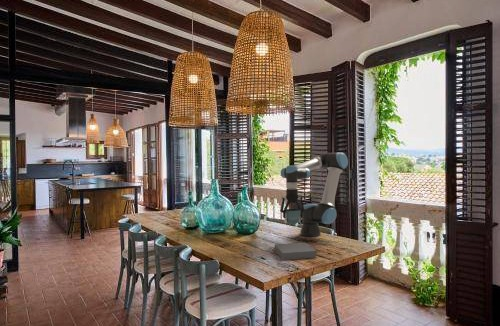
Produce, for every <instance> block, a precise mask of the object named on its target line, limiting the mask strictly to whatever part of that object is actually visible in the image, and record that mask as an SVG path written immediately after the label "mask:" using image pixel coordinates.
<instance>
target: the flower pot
mask: <svg viewBox="0 0 500 326" xmlns="http://www.w3.org/2000/svg"><path fill="white" fill-rule="evenodd" d="M300 212H301V210H298V208H287V210H286V212H285V213H287V223H288V224H290V225H292V224H293V225H294V224H298V223H299V222H298V221H299V219H300V220H301V217H300Z"/></svg>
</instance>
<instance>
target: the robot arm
mask: <svg viewBox="0 0 500 326" xmlns="http://www.w3.org/2000/svg"><path fill="white" fill-rule="evenodd" d="M348 165H349V160H348V157H347V155H346V154H345V153H344V152H324V153H322V154H319V155H316V156H313V157H312V159H309V160H306V161H304V162H301V163H298V164H295V165H287V166H286V167H282V169H281V170H280V176H281V178H282V179H285V185H286V186H285V187H286V191H285V193H286V195H285V196H284V197H281V204H280V205H281V206H280V210H279V211H280V213H282V218H283V219H284V220H283V221H284V224H287V223H288V222H287V213H285V212H286V210H287V209H289V206H290V204H292V203H294V204H295V206H296V209H298V210H301V212H300V219H299V221H298V223H299V224H300V223H301V218H302V225H301V228H300V231H299V232H300V235H301V236H302V237H308V238H309V237H320V236H321V235H322V234H321V229H320V226H319V223H321V224H325V225H330V224H333V223H334V222H335V220H336V219H337V214H338V213H337V210H336V207H335V205H334V203H335V198H336V194H337V189H338V185H339V181H340V176H341V173H343V172H344V169H345V168H346V169H347V167H348ZM315 169H317V170H318V169H327V170H328V172H327V177H326V181H325V185H324V190H323V195H322V198H321V201H320V202H318V204H317V203H309V204H304V203H303V196H299V192H298V188H299V187H298V180H306V179H307V180H308V179H309V178H310V177H311V171H313V170H315ZM286 200H287V201H286ZM298 200H299V203H298ZM285 201H286V204H285ZM299 204H300V205H299Z"/></svg>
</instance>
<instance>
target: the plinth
mask: <svg viewBox="0 0 500 326" xmlns="http://www.w3.org/2000/svg"><path fill="white" fill-rule="evenodd" d="M274 252H275V253H276V254H277V255H278V256H279V257H280V258H281V259H282V261H285V260H289V261H290V260H300V259H316V258H317V250H315V248H313V247H311V246H310V245H309V244H307V243H306V242H293V243H275V244H274Z"/></svg>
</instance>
